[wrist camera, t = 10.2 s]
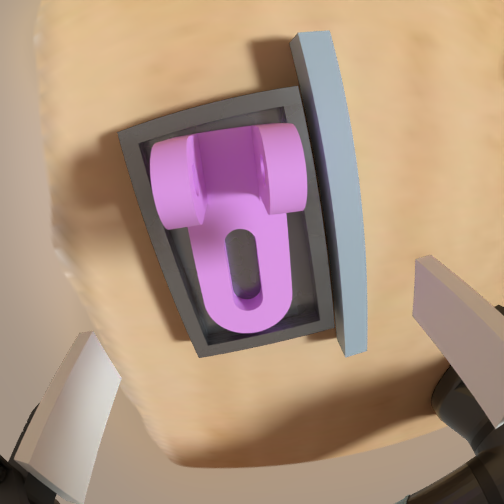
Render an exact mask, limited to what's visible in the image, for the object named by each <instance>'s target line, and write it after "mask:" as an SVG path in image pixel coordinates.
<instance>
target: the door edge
mask: <svg viewBox="0 0 504 504" xmlns="http://www.w3.org/2000/svg"><path fill="white" fill-rule="evenodd" d="M289 44H290V48H291V52H292V56H293V60H294V64H295V68H296V72H297V76H298V81H299V85H300V89H301V94H302V98H303V103H304V108H305V112H306V117H307V122H308V127H309V132H310V137H311V142H312V148H313V153H314V159H315V164H316V170H317V176H318V182H319V188H320V195H321V201H322V208H323V214H324V222H325V229H326V236H327V244H328V252H329V261H330V269H331V279H332V288H333V299H334V310H335V322H336V335H337V340H338V342H339V344H340V346H341V349H342V351H343V353H344V355H345V357H349V356H352V355H355V354H358V353H362V352H365V351H367V275H366V254H365V239H364V225H363V214H362V204H361V194H360V185H359V177H358V169H357V162H356V155H355V148H354V142H353V136H352V130H351V124H350V118H349V113H348V107H347V102H346V97H345V92H344V88H343V83H342V78H341V74H340V70H339V65H338V61H337V57H336V53H335V49H334V45H333V41H332V38H331V34H330V31H315V32H302V33H297V35H296V36H295V37H294V38H293V39H292V41H291V42H290V43H289Z"/></svg>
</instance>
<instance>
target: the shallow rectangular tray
mask: <svg viewBox="0 0 504 504" xmlns="http://www.w3.org/2000/svg"><path fill="white" fill-rule="evenodd" d="M270 123H292V124H294V126H295V127H296V129H297V131H298V133H299V136H300V139H301V143H302V147H303V151H304V157H305V163H306V172H307V200H306V206H305V208H304V210H303V211H298V212H290V213H286V215H287V227H288V239H289V252H290V266H291V281H292V301H291V305H290V307H289V309H288V311H287V313H286V314H285V316H284V317H283V318H282V319H281V320H280V321H279V322H278V323H276V324H275V325H273V326H272V327H270V328H268V329H265V330H263V331H259V332H255V333H238V332H233V331H230V330H227V329H225V328H223V327H221V326H220V325H218V324H217V323H216V322H215V321H214V320H213V319H212V318H211V317H210V316H209V314H208V312H207V310H206V308H205V304H204V300H203V296H202V292H201V287H200V283H199V279H198V274H197V270H196V265H195V260H194V256H193V251H192V246H191V242H190V237H189V232H188V227H183V228H177V229H170V230H168V229H166V228H165V227H164V225H163V224H162V222H161V220H160V217H159V215H158V212H157V209H156V205H155V201H154V197H153V192H152V185H151V176H150V157H151V150H152V147H153V145H154V144H155V143H157V142H160V141H164V140H167V139H171V138H174V137H178V136H184V135H189V134H195V133H201V132H207V131H214V130H220V129H227V128H235V127H243V126H251V125H260V124H270ZM117 133H118V137H119V140H120V144H121V148H122V151H123V155H124V158H125V162H126V165H127V169H128V172H129V175H130V179H131V182H132V185H133V188H134V191H135V195H136V198H137V201H138V204H139V207H140V210H141V213H142V216H143V219H144V222H145V225H146V228H147V231H148V233H149V236H150V239H151V242H152V245H153V247H154V250H155V253H156V256H157V258H158V261H159V264H160V266H161V269H162V272H163V274H164V277H165V279H166V282H167V284H168V287H169V289H170V292H171V294H172V297H173V299H174V302H175V304H176V307H177V309H178V311H179V314H180V316H181V319H182V321H183V323H184V326H185V328H186V330H187V333H188V335H189V337H190V339H191V342H192V344H193V346H194V348H195V350H196V353H197V355H198V357H199V358H202V357H207V356H213V355H218V354H224V353H229V352H234V351H239V350H244V349H249V348H253V347H258V346H263V345H267V344H272V343H276V342H280V341H285V340H289V339H293V338H297V337H301V336H305V335H309V334H313V333H317V332H320V331H324V330H328V329H331V328H335V325H334V314H333V303H332V292H331V283H330V273H329V265H328V256H327V248H326V240H325V233H324V226H323V219H322V212H321V205H320V198H319V192H318V186H317V180H316V174H315V168H314V163H313V157H312V151H311V146H310V141H309V136H308V131H307V126H306V121H305V116H304V111H303V106H302V102H301V97H300V93H299V88H298V86H293V87H287V88H281V89H275V90H269V91H264V92H258V93H253V94H248V95H243V96H239V97H234V98H230V99H226V100H221V101H217V102H213V103H209V104H205V105H201V106H198V107H194V108H190V109H187V110H183V111H180V112H176V113H173V114H170V115H167V116H163V117H160V118H157V119H154V120H151V121H148V122H145V123H142V124H139V125H136V126H133V127H131V128H128V129H125V130H122V131H120V132H117ZM225 245H226V251H227V257H228V263H229V269H230V274H231V280H232V286H233V291H234V293H235V294H236V296H238V297H239V298H242V299H251V298H254V297H255V296H257V295H258V294H259V292H260V290H261V283H260V275H259V267H258V258H257V250H256V242H255V236H254V235H253V234H252V233H251V232H250V231H248V230H245V229H236V230H233V231H231V232H230V233H229V234H228V235H227V236H226V238H225Z"/></svg>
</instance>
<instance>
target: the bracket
mask: <svg viewBox="0 0 504 504" xmlns="http://www.w3.org/2000/svg"><path fill="white" fill-rule="evenodd" d="M150 176H151V185H152V192H153V197H154V201H155V205H156V209H157V212H158V215H159V217H160V220H161V222H162V224H163V225H164V227H165V228H166V229H168V230H170V229H177V228H183V227H188V232H189V237H190V242H191V246H192V251H193V256H194V260H195V265H196V270H197V274H198V279H199V283H200V287H201V292H202V296H203V300H204V304H205V308H206V310H207V312H208V314H209V316H210V317H211V318H212V319H213V320H214V321H215V322H216V323H217V324H218V325H220V326H221V327H223V328H225V329H227V330H230V331H233V332H238V333H255V332H259V331H263V330H265V329H268V328H270V327H272V326H273V325H275V324H276V323H278V322H279V321H280V320H281V319H282V318H283V317H284V316H285V314H286V313H287V311H288V309H289V307H290V305H291V301H292V281H291V266H290V252H289V239H288V227H287V215H286V213H290V212H298V211H303V210H304V208H305V206H306V200H307V172H306V163H305V157H304V151H303V147H302V143H301V139H300V136H299V133H298V131H297V129H296V127H295V126H294V124H292V123H270V124H260V125H251V126H243V127H235V128H227V129H220V130H214V131H207V132H201V133H195V134H189V135H184V136H178V137H174V138H171V139H167V140H164V141H160V142H157V143H155V144H154V145H153V147H152V150H151V157H150ZM236 229H245V230H248V231H250V232H251V233H252V234H253V235H254V236H255V242H256V250H257V258H258V267H259V275H260V283H261V290H260V292H259V294H258V295H257V296H255V297H254V298H251V299H242V298H239V297H238V296H236V294H235V293H234V291H233V286H232V280H231V274H230V269H229V263H228V257H227V251H226V245H225V238H226V236H227V235H228V234H229V233H230V232H231V231H233V230H236Z"/></svg>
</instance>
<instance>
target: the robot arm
mask: <svg viewBox="0 0 504 504" xmlns="http://www.w3.org/2000/svg"><path fill="white" fill-rule="evenodd" d="M412 316H413V317H414V318H415V320H416V321H417V322H418V323H419V325H420V326H421V327H422V328H423V330H424V331H425V332H426V333H427V335H428V336H429V337H430V338H431V340H432V341H433V342H434V343H435V345H436V346H437V347H438V349H439V350H440V351H441V352H442V354H443V355H444V356H445V358H446V359H447V360H448V362H449V363H450V364H451V367H450V368H449V369H448V370H447V372H446V373H445V374H444V376H443V377H442V379H441V380H440V382H439V383H438V385H437V387H436V389H435V391H434V393H433V396H432V400H431V404H432V407H433V409H434V411H435V412H436V414H437V416H438V417H439V419H440V420H442V421H443V422H444V423H446V424H447V425H448V426H449V427H451V428H452V429H453V430H454V431H456V432H457V433H459V434H460V435H461V436H462V437H463V438H465V439H466V440H467V441H468V442H469V444H470V445H471V447H472V449H473V451H474V453H475V455H476V456H475V457H474V458H472V459H471V460H469V461H468V462H466V463H465V464H463V465H462V466H460V467H459V468H457V469H456V470H454V471H453V472H451V473H449V474H448V475H446V476H444V477H443V478H441V479H439V480H438V481H436V482H434V483H433V484H431V485H429V486H427V487H425V488H423V489H422V490H420V491H418V492H416V493H414V494H412V495H407V496H406V497H405V498H404V499H402V500H401V501H399V502H397V503H395V504H504V307H502V306H500V305H497V306H495V307H493V306H492V305H491V304H490V303H489V302H488V301H487V300H485V299H484V298H483V297H482V296H481V295H480V294H479V293H477V292H476V291H475V290H474V289H473V288H472V287H470V286H469V285H468V284H467V283H466V282H464V281H463V280H462V279H461V278H460V277H458V276H457V275H456V274H455V273H453V272H452V271H451V270H450V269H448V268H447V267H446V266H445V265H443V264H442V263H441V262H440V261H438V260H437V259H436V258H434V257H433V256H432V255H428V256H425V257H421V258H418V259H415V286H414V303H413V315H412ZM120 381H121V376H120V375H119V373H118V372H117V370H116V369H115V367H114V365H113V364H112V362H111V361H110V359H109V357H108V356H107V354H106V352H105V351H104V349H103V347H102V345H101V344H100V342H99V340H98V338H97V337H96V335H95V333H94V331H89V332H82V333H79V335H78V336H77V338H76V339H75V341H74V343H73V344H72V346H71V348H70V349H69V351H68V353H67V355H66V356H65V358H64V360H63V362H62V363H61V365H60V367H59V369H58V370H57V372H56V374H55V376H54V378H53V379H52V381H51V383H50V385H49V387H48V389H47V391H46V393H45V394H44V396H43V398H42V400H41V402H40V403H39V404H38V405H37V406H36V407H35V409H34V410H33V411H32V412H31V414H30V416H29V419H28V421H27V423H26V425H25V427H24V429H23V430H24V431H23V432H22V433H21V435H20V437H19V439H18V442H17V444H16V446H15V448H14V450H13V453H12V455H11V457H10V460H9V461H8V462H7V461H6V460H5V459H4V458H3V457H2V456H1V455H0V504H60V503H59V502H58V501H57V500H56V499H55V497H56V494H58V495H59V496H60V497H62V498H63V499H65V500H66V501H69V502H72V503H76V504H84V500H85V496H86V492H87V488H88V485H89V481H90V477H91V473H92V469H93V466H94V462H95V459H96V455H97V452H98V449H99V445H100V442H101V439H102V435H103V432H104V429H105V426H106V423H107V419H108V416H109V413H110V410H111V407H112V404H113V401H114V398H115V395H116V393H117V389H118V387H119V384H120Z"/></svg>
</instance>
